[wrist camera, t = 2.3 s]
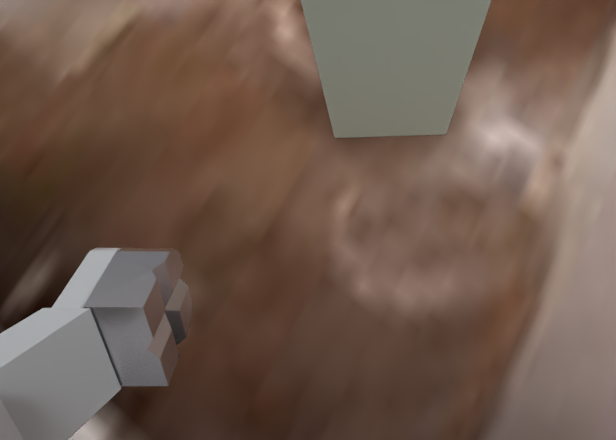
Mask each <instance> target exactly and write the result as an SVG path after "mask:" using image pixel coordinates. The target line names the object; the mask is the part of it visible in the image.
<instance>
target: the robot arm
mask: <svg viewBox="0 0 616 440" xmlns="http://www.w3.org/2000/svg"><path fill="white" fill-rule="evenodd" d="M183 268H184V266H183V263H182V259H181V256H180V253H179V252H178V251H177V250H176V249H166V248H95V249H93V250H91V251H89V253H88V254H87V256H86V257H85V259H84V260H83V261H82V263H81V264H80V266H79V267H78V269H77V270H76V272H75V273H74V275H73V276H72V278H71V279H70V281H69V282H68V284H67V285H66V287H65V288H64V290H63V291H62V293H61V294H60V296H59V297H58V299H57V300H56V302H55V303H54V305H53V306H52V308H42V309H41V310H39V311H37V312H36V313H34V314H32V315H31V316H29V317H27V318H26V319H24V320H22V321H21V322H19V323H17V324H16V325H14V326H12V327H11V328H9V329H7V330H6V331H4V332H2V333H1V334H0V440H68V439H69V438H70V437H71V436H72V435H73V434H74V433H75V432H76V431H77V430H78V429H79V428H80V427H82V426H83V425H84V424H85V423H86V422H87V421H88V420H89V419H90V418H91V417H92V416H93V415H94V414H95V413H96V412H97V411H98V410H99V409H100V408H102V407H103V406H104V405H105V404H106V403H107V402H108V401H109V400H110V399H111V398H112V397H113V396H114V395H115V394H116V393H117V392H118V391H119V390H120V389H121V386H169V383H170V380H171V378H172V375H173V372H174V369H175V367H176V364H177V361H178V359H179V353H178V350H177V346H176V345H177V344H178V343H180V342H181V341H182V340H183V339H185V338H186V337H187V334H188V331H189V328H190V325H191V316H192V299H191V293H190V289H189V286H188V285H187V284H186V283H185V282H183V281H182V280H181V279H180V275H181V273H182V270H183Z"/></svg>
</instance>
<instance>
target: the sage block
mask: <svg viewBox="0 0 616 440" xmlns="http://www.w3.org/2000/svg"><path fill="white" fill-rule="evenodd" d="M490 2H491V0H301V3H302V7H303V11H304V15H305V19H306V23H307V28H308V32H309V36H310V40H311V44H312V48H313V52H314V56H315V60H316V64H317V69H318V73H319V77H320V81H321V85H322V89H323V93H324V97H325V101H326V105H327V109H328V114H329V118H330V122H331V126H332V130H333V134H334V138H351V137H382V136H413V135H444V134H446V133H447V130H448V127H449V124H450V121H451V118H452V115H453V112H454V110H455V107H456V104H457V101H458V98H459V95H460V92H461V89H462V86H463V83H464V80H465V77H466V74H467V71H468V68H469V65H470V62H471V59H472V56H473V53H474V50H475V47H476V44H477V41H478V38H479V35H480V32H481V29H482V26H483V23H484V20H485V17H486V14H487V11H488V8H489V5H490Z"/></svg>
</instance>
